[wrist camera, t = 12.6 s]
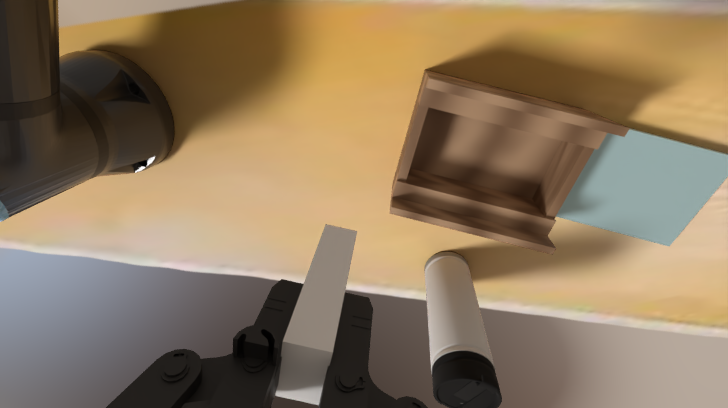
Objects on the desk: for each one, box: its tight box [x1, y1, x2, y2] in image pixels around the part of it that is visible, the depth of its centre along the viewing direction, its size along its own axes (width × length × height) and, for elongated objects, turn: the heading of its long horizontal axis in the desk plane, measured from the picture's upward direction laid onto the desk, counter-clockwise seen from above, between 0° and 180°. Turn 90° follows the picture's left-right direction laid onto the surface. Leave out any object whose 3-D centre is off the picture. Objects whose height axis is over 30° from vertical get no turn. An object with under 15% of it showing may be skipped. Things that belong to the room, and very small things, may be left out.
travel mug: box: [425, 252, 502, 408], centre depth 39 cm, size 6×7×20 cm
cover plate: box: [556, 128, 728, 246], centre depth 38 cm, size 17×12×4 cm
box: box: [390, 70, 630, 255], centre depth 36 cm, size 18×14×8 cm
